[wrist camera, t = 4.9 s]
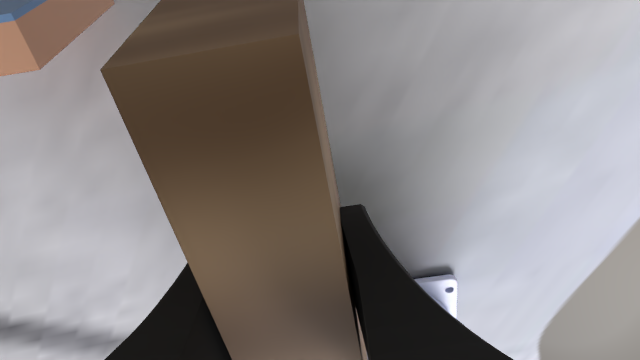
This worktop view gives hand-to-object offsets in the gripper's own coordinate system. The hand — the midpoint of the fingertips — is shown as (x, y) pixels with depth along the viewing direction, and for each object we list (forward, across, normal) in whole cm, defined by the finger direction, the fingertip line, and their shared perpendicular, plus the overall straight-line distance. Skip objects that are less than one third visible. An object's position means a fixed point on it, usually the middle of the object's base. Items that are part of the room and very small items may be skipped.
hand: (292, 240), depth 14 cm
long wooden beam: (+2, 0, 0) cm, 2 cm away
